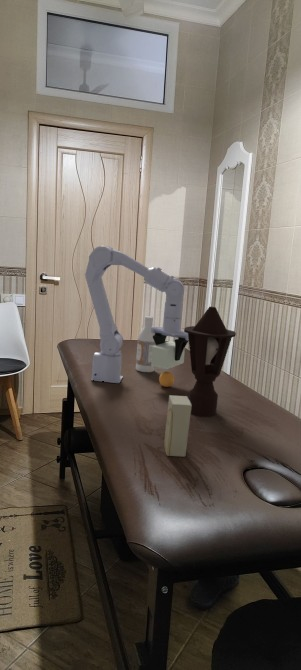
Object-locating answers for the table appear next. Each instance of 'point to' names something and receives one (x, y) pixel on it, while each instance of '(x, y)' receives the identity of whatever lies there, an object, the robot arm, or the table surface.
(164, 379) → the ball
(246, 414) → the table surface
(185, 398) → the skincare box
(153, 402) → the table surface
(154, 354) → the mint green block
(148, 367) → the bath foam
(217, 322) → the lantern
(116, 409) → the table surface
